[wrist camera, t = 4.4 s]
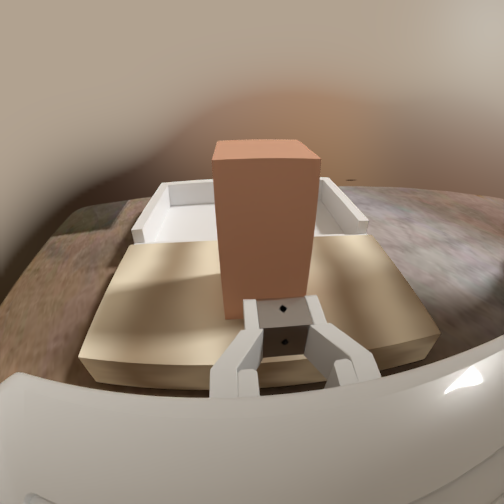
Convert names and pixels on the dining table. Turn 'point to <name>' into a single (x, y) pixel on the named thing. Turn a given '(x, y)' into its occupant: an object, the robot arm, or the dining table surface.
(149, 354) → the birch board
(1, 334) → the dining table surface
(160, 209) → the box
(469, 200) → the dining table surface
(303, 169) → the block
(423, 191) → the dining table surface
